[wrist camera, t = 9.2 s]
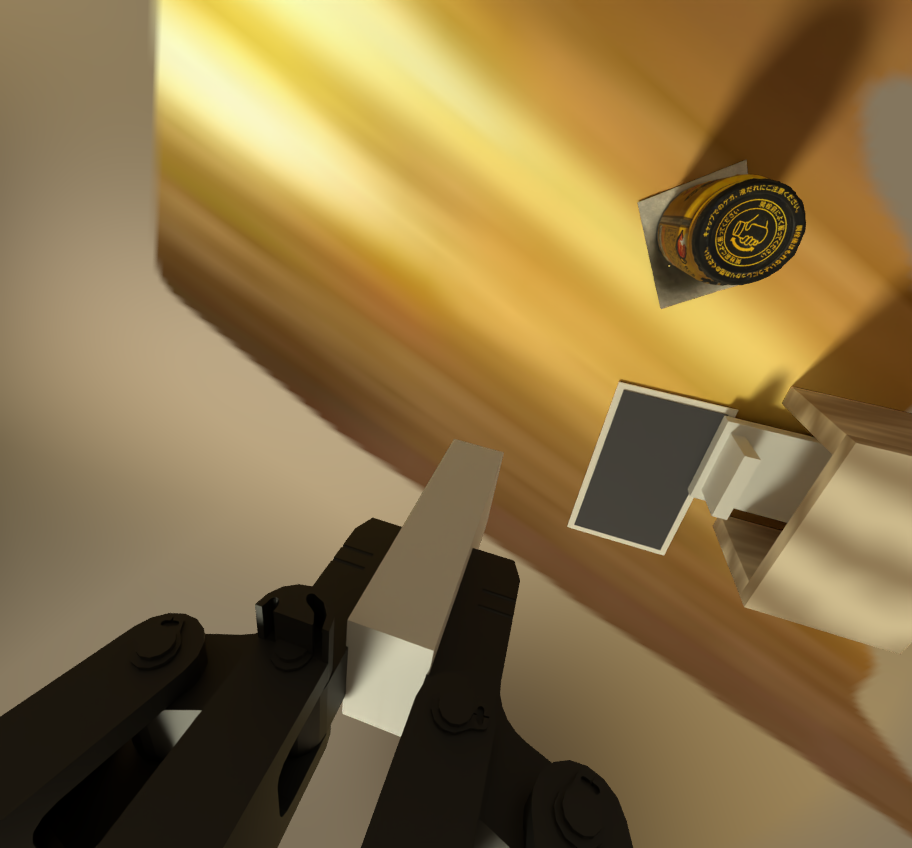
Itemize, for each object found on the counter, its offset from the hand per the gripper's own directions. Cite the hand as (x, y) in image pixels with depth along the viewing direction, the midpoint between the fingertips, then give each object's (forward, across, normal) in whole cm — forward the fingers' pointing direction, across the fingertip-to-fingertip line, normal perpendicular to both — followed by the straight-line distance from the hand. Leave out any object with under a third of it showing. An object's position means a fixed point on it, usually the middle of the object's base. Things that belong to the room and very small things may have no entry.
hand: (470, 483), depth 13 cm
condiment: (+30, +10, +7) cm, 32 cm away
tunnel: (+29, +26, -10) cm, 41 cm away
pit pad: (+29, +13, -14) cm, 35 cm away
